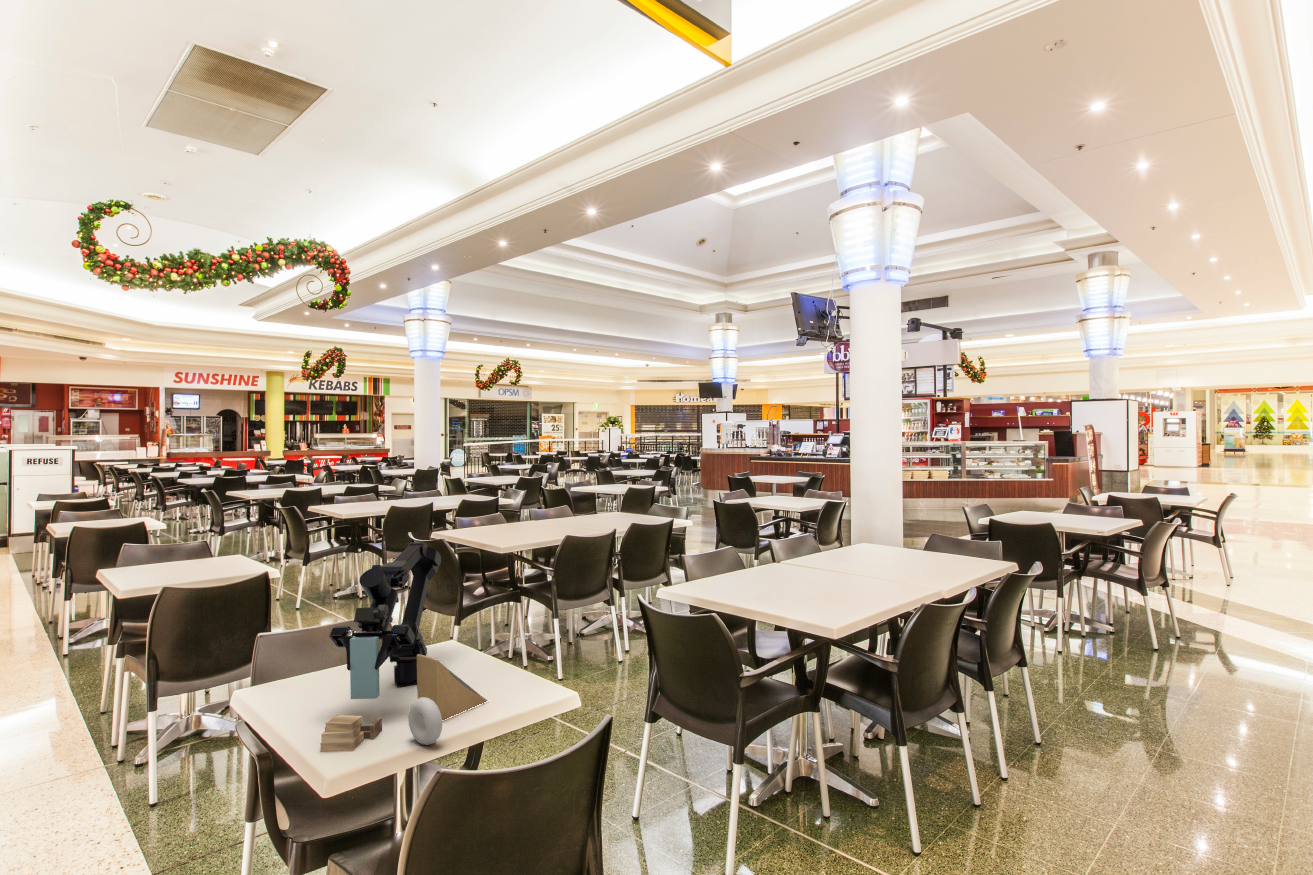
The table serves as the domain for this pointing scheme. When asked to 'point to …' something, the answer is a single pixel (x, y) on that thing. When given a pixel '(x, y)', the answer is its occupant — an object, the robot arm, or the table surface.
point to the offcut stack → (342, 734)
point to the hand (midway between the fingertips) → (362, 669)
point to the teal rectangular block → (364, 668)
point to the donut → (425, 720)
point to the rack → (371, 729)
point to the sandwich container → (444, 688)
